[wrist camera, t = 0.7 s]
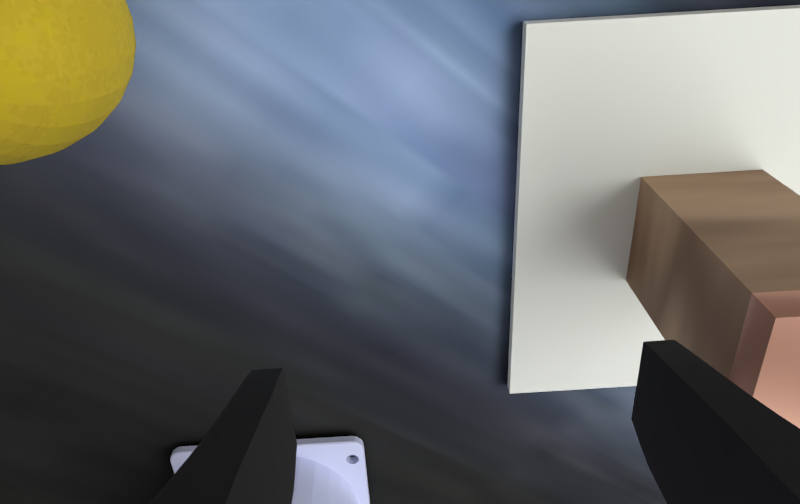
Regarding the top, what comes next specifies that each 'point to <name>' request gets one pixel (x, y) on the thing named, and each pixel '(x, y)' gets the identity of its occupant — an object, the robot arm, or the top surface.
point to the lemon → (60, 71)
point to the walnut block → (725, 276)
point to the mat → (629, 165)
